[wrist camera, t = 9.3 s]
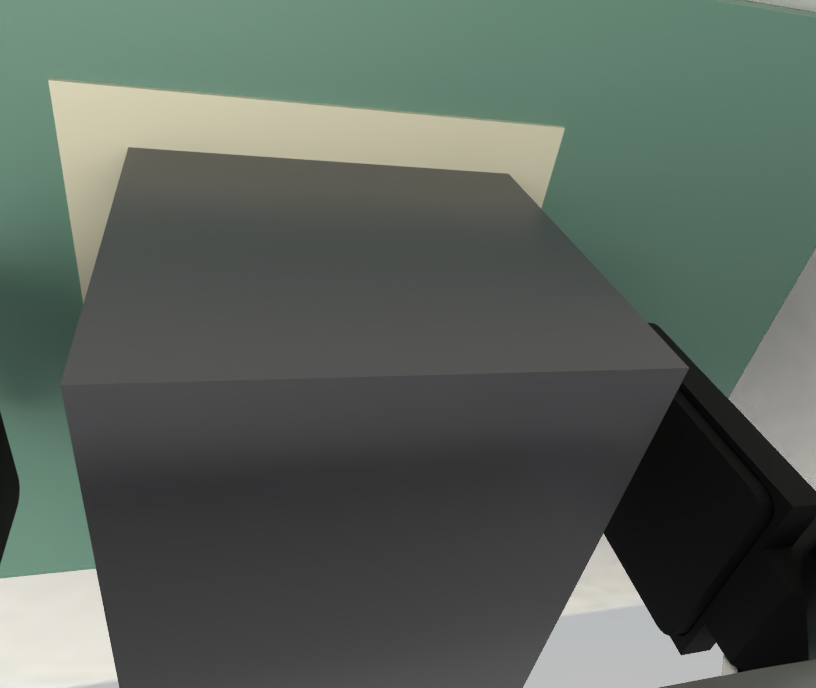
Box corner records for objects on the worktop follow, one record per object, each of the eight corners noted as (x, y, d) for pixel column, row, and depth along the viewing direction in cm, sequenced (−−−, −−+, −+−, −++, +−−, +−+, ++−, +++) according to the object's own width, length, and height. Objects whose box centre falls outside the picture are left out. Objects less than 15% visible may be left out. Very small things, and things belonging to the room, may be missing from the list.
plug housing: (508, 173, 10) (689, 368, 6) (419, 517, 15) (491, 747, 11) (127, 147, 9) (60, 385, 5) (164, 541, 13) (144, 819, 10)
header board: (879, 23, 12) (1138, 88, 8) (640, 477, 18) (731, 609, 15) (-728, -253, 6) (-1845, -380, 3) (-215, 549, 13) (-360, 785, 10)
